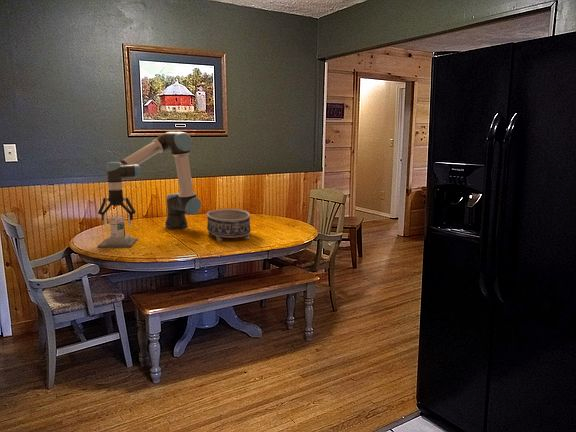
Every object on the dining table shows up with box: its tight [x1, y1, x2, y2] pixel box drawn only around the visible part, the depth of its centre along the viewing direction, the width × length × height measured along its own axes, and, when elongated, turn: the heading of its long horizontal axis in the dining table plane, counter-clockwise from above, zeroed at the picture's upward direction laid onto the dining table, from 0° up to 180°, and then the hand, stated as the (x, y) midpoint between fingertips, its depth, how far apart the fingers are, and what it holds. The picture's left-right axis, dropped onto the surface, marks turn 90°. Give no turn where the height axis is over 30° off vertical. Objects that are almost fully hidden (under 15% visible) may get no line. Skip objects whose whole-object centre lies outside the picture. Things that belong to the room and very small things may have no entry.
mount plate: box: [97, 233, 139, 249], centre depth 258 cm, size 18×18×4 cm
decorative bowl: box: [206, 208, 252, 242], centre depth 280 cm, size 42×27×15 cm, turn 22°
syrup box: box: [109, 215, 126, 238], centre depth 256 cm, size 6×6×14 cm
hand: (117, 225), depth 256 cm, fingers open, 13 cm apart
